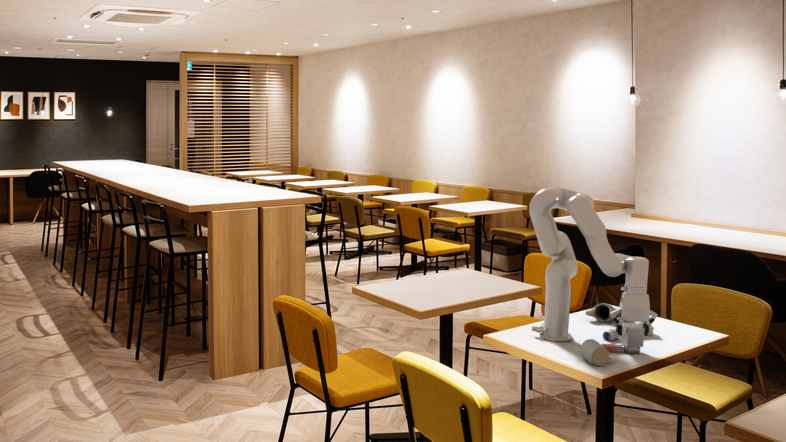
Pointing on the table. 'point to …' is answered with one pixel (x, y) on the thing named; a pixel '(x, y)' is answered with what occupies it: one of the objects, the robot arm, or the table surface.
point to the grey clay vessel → (602, 312)
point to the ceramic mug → (595, 353)
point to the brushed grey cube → (632, 335)
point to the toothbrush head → (613, 335)
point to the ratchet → (622, 349)
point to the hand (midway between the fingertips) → (632, 334)
